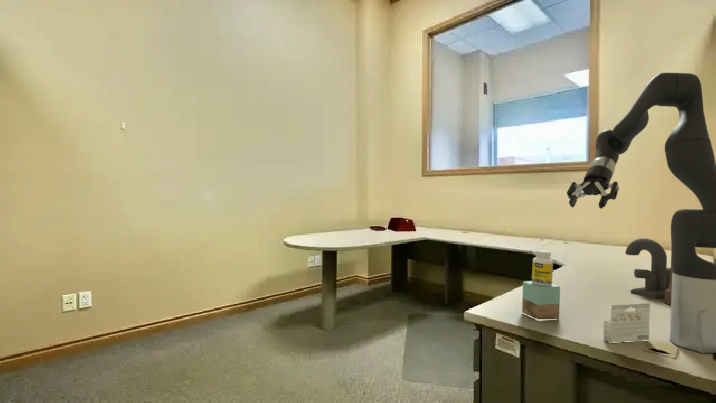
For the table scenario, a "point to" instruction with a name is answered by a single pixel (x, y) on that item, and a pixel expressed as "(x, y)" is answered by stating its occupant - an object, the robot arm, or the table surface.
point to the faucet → (659, 273)
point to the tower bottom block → (540, 310)
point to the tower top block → (541, 293)
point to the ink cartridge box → (628, 323)
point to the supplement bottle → (542, 268)
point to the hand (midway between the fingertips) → (585, 206)
